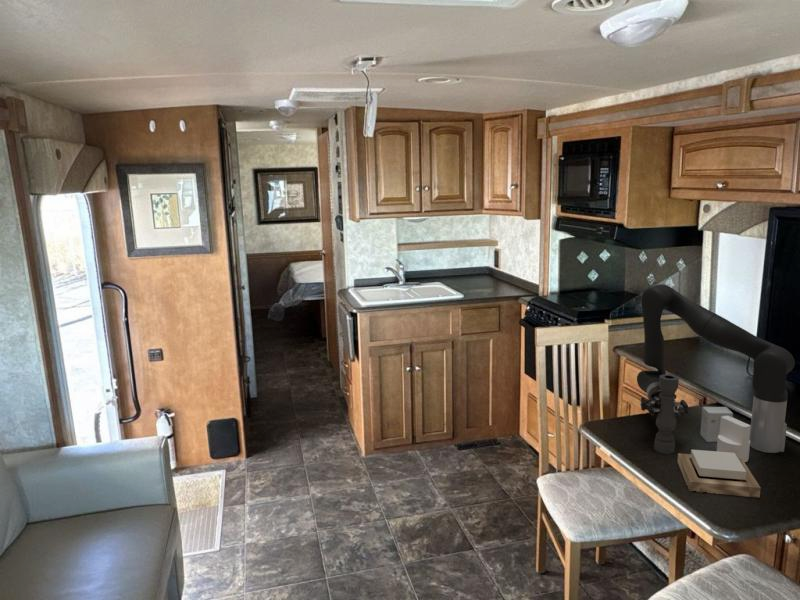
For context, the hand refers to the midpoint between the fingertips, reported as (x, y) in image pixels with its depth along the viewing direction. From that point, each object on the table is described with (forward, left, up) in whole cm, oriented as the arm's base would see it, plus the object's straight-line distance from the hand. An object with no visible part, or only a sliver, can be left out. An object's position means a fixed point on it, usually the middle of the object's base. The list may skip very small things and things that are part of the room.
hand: (667, 413), depth 195 cm
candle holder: (0, -1, -13) cm, 13 cm away
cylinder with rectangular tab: (-20, 0, -13) cm, 24 cm away
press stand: (-12, +16, -13) cm, 24 cm away
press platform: (-12, +16, -10) cm, 22 cm away
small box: (-18, -13, -13) cm, 26 cm away
